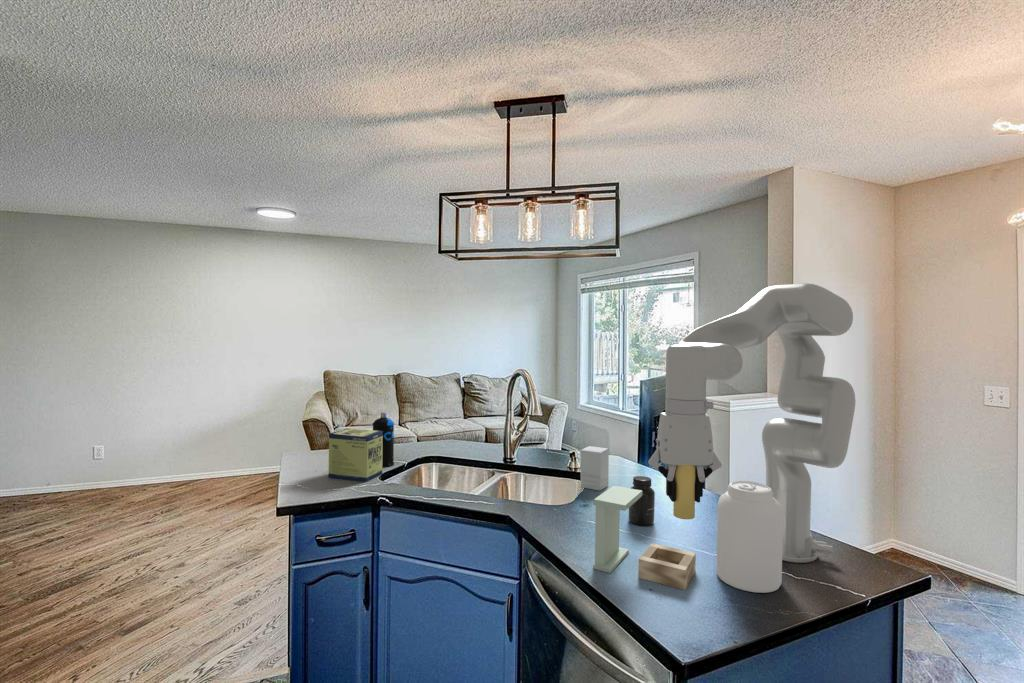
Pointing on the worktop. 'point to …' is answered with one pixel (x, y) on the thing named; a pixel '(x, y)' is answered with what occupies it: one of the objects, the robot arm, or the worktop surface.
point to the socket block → (667, 566)
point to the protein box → (355, 454)
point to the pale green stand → (611, 526)
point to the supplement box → (594, 467)
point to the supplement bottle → (643, 502)
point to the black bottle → (386, 438)
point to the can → (750, 537)
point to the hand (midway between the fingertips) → (684, 498)
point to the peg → (684, 492)
